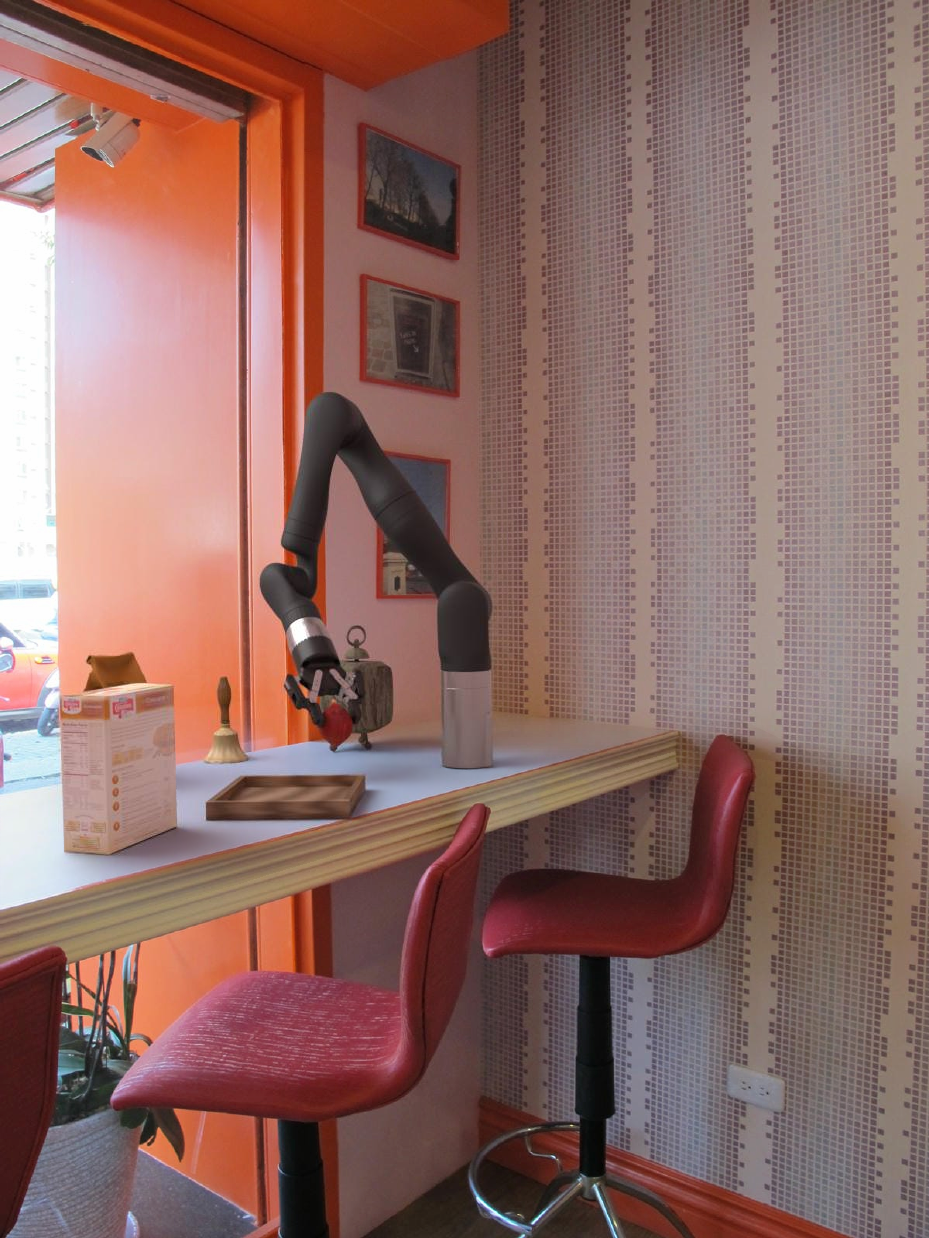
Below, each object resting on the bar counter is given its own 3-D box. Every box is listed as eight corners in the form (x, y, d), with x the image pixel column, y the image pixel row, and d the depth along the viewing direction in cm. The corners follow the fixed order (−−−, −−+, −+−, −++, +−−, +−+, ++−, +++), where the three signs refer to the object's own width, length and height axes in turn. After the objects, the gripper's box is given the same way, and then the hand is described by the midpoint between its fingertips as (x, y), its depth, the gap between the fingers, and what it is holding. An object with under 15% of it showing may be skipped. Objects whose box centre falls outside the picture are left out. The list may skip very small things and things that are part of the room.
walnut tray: (365, 789, 156) (365, 774, 156) (349, 818, 136) (349, 800, 136) (240, 791, 157) (240, 775, 156) (206, 820, 137) (205, 802, 136)
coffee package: (62, 789, 160) (59, 655, 159) (116, 776, 171) (113, 650, 171) (110, 793, 156) (107, 655, 156) (162, 779, 168) (159, 651, 167)
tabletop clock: (359, 742, 207) (357, 624, 206) (396, 744, 203) (395, 624, 202) (320, 752, 194) (318, 626, 193) (359, 755, 190) (357, 626, 189)
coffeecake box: (134, 824, 135) (131, 682, 134) (179, 827, 133) (176, 683, 132) (60, 851, 121) (56, 693, 120) (109, 855, 118) (106, 694, 118)
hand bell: (237, 764, 182) (235, 678, 181) (195, 763, 183) (194, 678, 183) (255, 757, 190) (254, 674, 189) (215, 756, 192) (214, 674, 191)
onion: (359, 744, 166) (358, 697, 166) (344, 750, 161) (342, 701, 160) (328, 744, 168) (327, 697, 168) (312, 749, 163) (311, 701, 162)
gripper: (276, 636, 167) (303, 712, 157) (355, 632, 174) (385, 705, 164) (268, 665, 172) (293, 741, 162) (345, 660, 179) (373, 733, 169)
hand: (339, 722), depth 163 cm, fingers closed on onion, 5 cm apart
